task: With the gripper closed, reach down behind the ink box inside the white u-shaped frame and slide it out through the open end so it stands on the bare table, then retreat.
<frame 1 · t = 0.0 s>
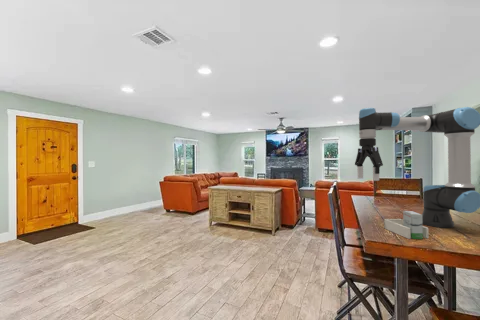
hand: (367, 179, 120), 28 cm above the table, fingers open, 13 cm apart
white u-shaped frame: (405, 233, 120), on the table
ink box: (412, 236, 115), on the table
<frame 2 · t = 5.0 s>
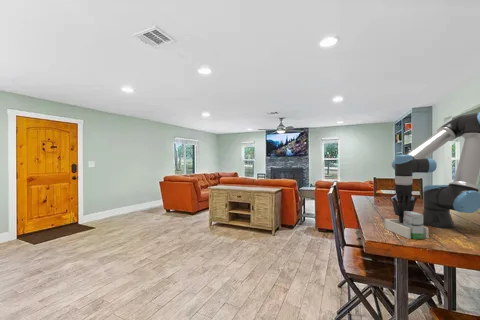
hand: (403, 229, 120), 2 cm above the table, fingers closed
ink box: (413, 236, 114), on the table, touching gripper
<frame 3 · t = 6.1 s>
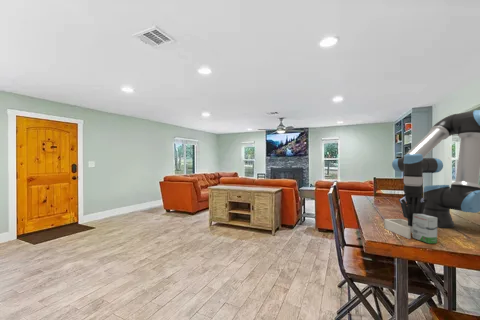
hand: (412, 232, 114), 2 cm above the table, fingers closed
ink box: (424, 240, 108), on the table, touching gripper
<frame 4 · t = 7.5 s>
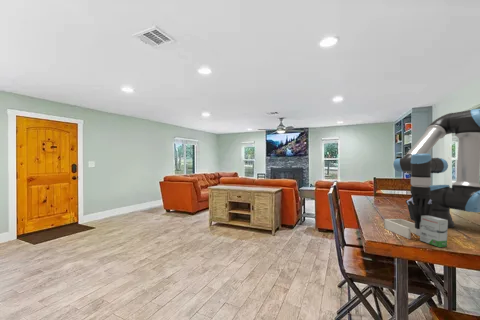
hand: (419, 235, 110), 2 cm above the table, fingers closed
ink box: (432, 243, 104), on the table, touching gripper, hand
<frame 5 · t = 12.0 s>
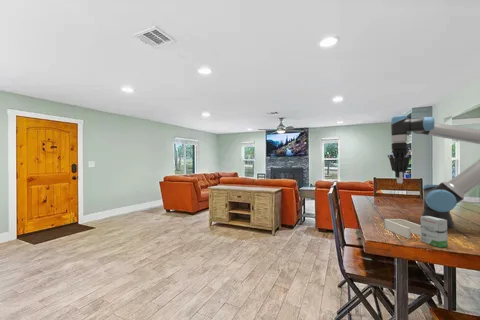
hand: (399, 183, 134), 24 cm above the table, fingers closed
ink box: (433, 244, 104), on the table
at the end: ink box inside the target area (2.1 cm from its centre), on the table; ink box tilted 0°; ink box touching table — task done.
